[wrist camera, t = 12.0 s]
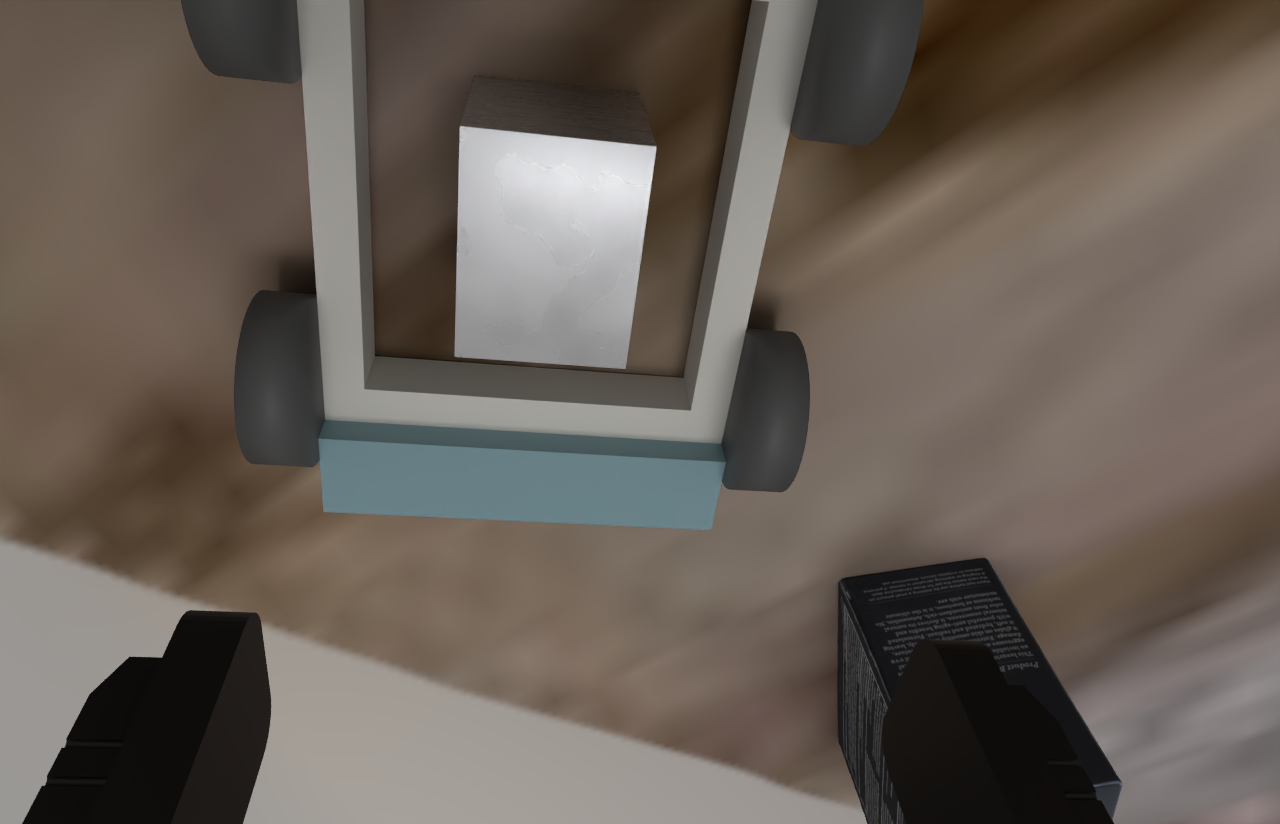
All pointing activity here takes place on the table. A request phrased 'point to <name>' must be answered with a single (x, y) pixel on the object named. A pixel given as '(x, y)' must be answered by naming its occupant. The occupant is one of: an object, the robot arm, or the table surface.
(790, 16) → the chassis
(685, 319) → the table surface
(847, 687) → the small box
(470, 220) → the block
